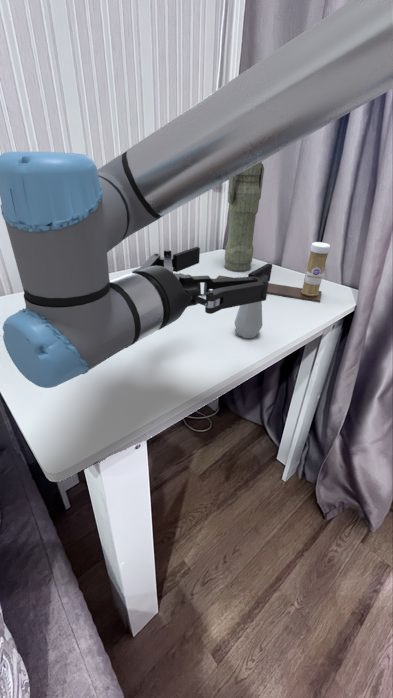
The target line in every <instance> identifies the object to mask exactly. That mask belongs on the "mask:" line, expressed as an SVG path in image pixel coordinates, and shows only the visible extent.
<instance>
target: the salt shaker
mask: <svg viewBox="0 0 393 698" xmlns="http://www.w3.org/2000/svg"><path fill="white" fill-rule="evenodd" d="M248 274H249V273H247V274H245V275H244V276H243V277H248ZM262 302H263V301H260V302H255V303H250V304H245V305H240V306H238V311H237V313H236V315H235V316H236V317H235V320H234V327H235V330H236V333H237V335H238V336H240V337H242V338H244V339H254V338H255V337H256V336H258V334H259V333H260V331H261V329H262V327H263V303H262Z"/></svg>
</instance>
